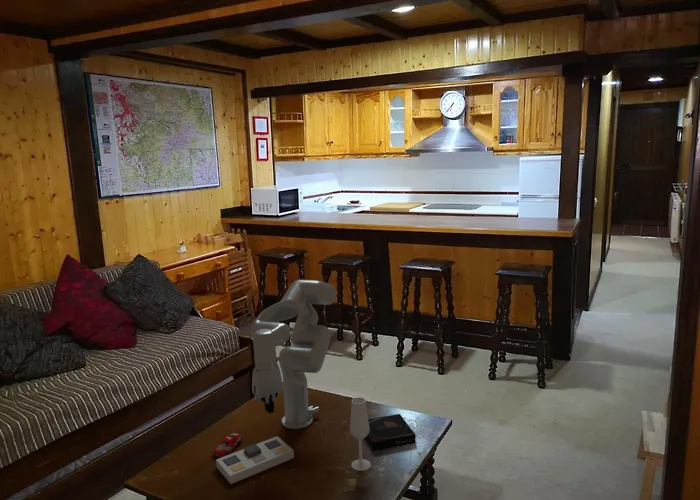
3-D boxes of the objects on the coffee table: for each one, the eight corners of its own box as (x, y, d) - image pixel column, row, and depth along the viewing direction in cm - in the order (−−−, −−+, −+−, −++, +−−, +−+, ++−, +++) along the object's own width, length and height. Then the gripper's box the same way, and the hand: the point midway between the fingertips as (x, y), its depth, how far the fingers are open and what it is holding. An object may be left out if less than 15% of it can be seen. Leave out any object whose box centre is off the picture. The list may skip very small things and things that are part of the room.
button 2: (275, 447, 198) (275, 439, 197) (281, 452, 194) (281, 444, 193) (265, 451, 195) (264, 443, 194) (270, 456, 192) (270, 449, 191)
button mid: (255, 451, 193) (255, 443, 192) (261, 456, 189) (260, 449, 189) (244, 455, 190) (243, 448, 190) (250, 461, 187) (249, 453, 186)
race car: (222, 460, 191) (221, 450, 190) (210, 457, 193) (209, 447, 193) (244, 441, 203) (244, 431, 202) (233, 438, 205) (232, 429, 204)
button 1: (235, 463, 188) (234, 455, 188) (240, 468, 185) (240, 460, 184) (223, 467, 186) (222, 459, 185) (228, 473, 182) (228, 465, 182)
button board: (277, 443, 200) (277, 435, 199) (293, 457, 190) (293, 449, 190) (216, 467, 186) (216, 459, 186) (230, 484, 177) (230, 475, 176)
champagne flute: (357, 472, 180) (354, 407, 176) (347, 462, 186) (345, 398, 182) (374, 466, 183) (372, 401, 179) (364, 457, 189) (362, 394, 185)
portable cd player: (399, 422, 213) (399, 413, 212) (415, 444, 197) (415, 434, 196) (359, 429, 209) (359, 419, 208) (373, 452, 193) (372, 442, 192)
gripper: (279, 355, 196) (282, 401, 200) (241, 366, 187) (246, 414, 191) (289, 361, 190) (293, 408, 194) (251, 373, 181) (255, 422, 185)
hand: (269, 411), depth 192 cm, fingers closed
